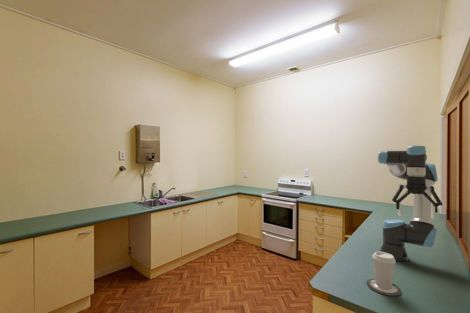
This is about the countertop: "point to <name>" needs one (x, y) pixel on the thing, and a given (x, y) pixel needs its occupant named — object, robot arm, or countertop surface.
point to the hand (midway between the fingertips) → (416, 217)
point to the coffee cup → (383, 269)
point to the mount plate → (392, 292)
